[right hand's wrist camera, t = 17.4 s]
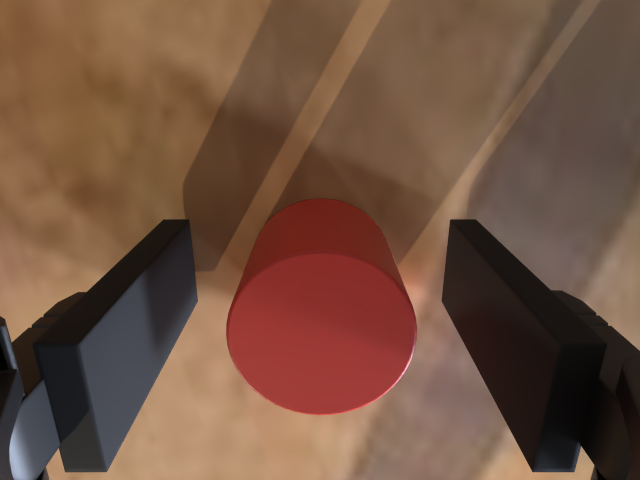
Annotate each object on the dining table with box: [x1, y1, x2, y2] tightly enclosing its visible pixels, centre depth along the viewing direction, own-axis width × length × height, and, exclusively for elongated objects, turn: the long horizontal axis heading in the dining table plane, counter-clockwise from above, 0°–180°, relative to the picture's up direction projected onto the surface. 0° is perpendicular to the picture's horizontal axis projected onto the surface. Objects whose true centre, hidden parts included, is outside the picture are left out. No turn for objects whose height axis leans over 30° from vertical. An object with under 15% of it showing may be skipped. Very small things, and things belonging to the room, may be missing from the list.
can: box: [226, 199, 417, 415], centre depth 12 cm, size 4×4×4 cm
